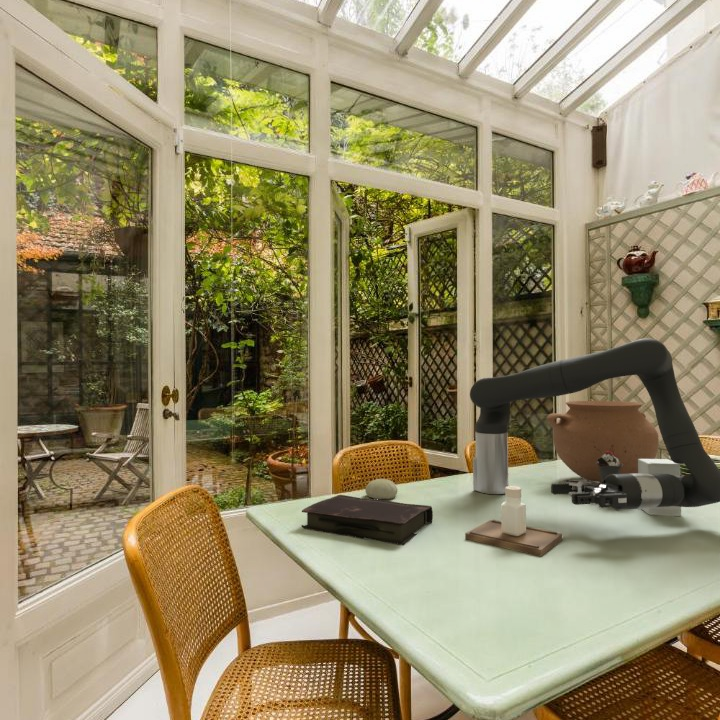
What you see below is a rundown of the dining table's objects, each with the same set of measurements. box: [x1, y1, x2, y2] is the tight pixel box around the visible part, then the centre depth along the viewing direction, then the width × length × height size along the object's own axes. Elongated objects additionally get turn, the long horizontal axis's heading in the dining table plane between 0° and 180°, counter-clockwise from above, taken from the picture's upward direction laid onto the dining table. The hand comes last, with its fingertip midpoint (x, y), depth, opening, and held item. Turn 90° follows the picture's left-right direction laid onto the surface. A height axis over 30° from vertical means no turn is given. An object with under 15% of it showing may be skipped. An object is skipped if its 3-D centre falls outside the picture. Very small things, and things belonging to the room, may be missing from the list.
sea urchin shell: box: [365, 478, 398, 500], centre depth 143 cm, size 9×8×8 cm
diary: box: [301, 494, 434, 546], centre depth 116 cm, size 19×25×5 cm
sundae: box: [596, 445, 623, 483], centre depth 136 cm, size 7×7×15 cm
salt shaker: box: [500, 485, 527, 536], centre depth 106 cm, size 4×4×10 cm
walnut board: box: [464, 519, 563, 557], centre depth 106 cm, size 16×12×2 cm
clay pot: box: [546, 400, 660, 484], centre depth 158 cm, size 34×30×25 cm
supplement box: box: [638, 458, 682, 517], centre depth 126 cm, size 7×7×13 cm
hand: (561, 493), depth 108 cm, fingers open, 8 cm apart
